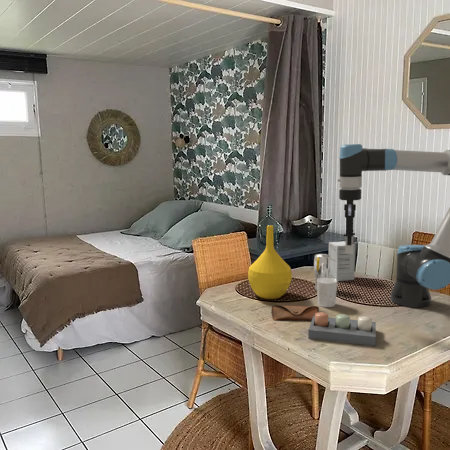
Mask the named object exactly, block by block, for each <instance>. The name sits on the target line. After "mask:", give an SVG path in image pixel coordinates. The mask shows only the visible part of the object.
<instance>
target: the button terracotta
mask: <svg viewBox="0 0 450 450" xmlns="http://www.w3.org/2000/svg"><path fill="white" fill-rule="evenodd" d="M328 317H329V314H328V313H327V312H321V311H319V312H318V313H315V326H322V327H328Z"/></svg>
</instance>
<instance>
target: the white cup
mask: <svg viewBox="0 0 450 450" xmlns="http://www.w3.org/2000/svg"><path fill="white" fill-rule="evenodd" d="M337 288H338V281H337V280H336V279H333V278H330V277H328V278H319V279H317V290H316V294H317V296H316V297H317V306H318V307H319V306H320V307H322V308H332V307H333V308H334V307H335V306H336V298H337Z"/></svg>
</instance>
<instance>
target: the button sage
mask: <svg viewBox="0 0 450 450" xmlns="http://www.w3.org/2000/svg"><path fill="white" fill-rule="evenodd" d="M335 318H336V328H341V329H349V326H350V319H351V317H350V316H349V315H348V314H344V313H341V314H336V315H335Z"/></svg>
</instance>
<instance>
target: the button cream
mask: <svg viewBox="0 0 450 450" xmlns="http://www.w3.org/2000/svg"><path fill="white" fill-rule="evenodd" d="M357 320H358V329H357V330H360V331H370V332H371V328H372V322H373V319H372V317H370V316H365V315H363V316H359V317H358V318H357Z"/></svg>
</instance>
